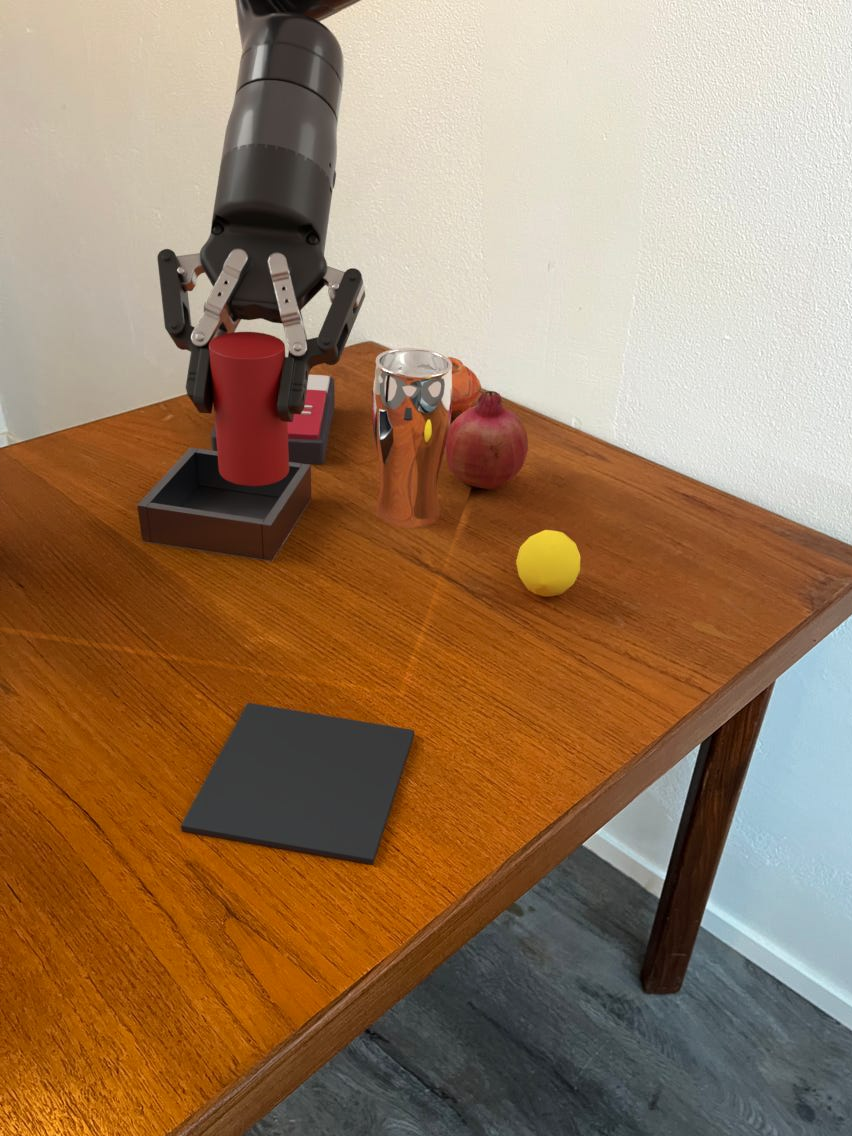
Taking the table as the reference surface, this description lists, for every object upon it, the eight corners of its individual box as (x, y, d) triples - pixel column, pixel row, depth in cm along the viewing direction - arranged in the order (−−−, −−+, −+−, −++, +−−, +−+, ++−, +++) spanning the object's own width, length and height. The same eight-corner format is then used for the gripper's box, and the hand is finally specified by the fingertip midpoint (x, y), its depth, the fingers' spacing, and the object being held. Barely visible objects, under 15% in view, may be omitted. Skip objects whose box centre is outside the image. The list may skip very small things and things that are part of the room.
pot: (494, 407, 116) (494, 356, 111) (458, 444, 112) (456, 393, 106) (436, 386, 119) (433, 336, 114) (398, 422, 114) (393, 371, 109)
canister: (208, 480, 69) (197, 352, 63) (232, 450, 72) (224, 327, 67) (277, 490, 68) (271, 362, 63) (297, 459, 72) (294, 336, 67)
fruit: (496, 514, 96) (506, 416, 90) (427, 488, 99) (432, 392, 94) (537, 484, 102) (549, 390, 96) (470, 460, 105) (477, 368, 99)
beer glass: (406, 542, 91) (413, 384, 82) (354, 513, 94) (356, 358, 86) (459, 518, 95) (471, 365, 86) (408, 490, 99) (414, 341, 90)
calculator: (209, 429, 98) (232, 364, 109) (212, 468, 101) (235, 400, 112) (323, 435, 99) (334, 370, 110) (323, 474, 101) (335, 406, 113)
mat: (181, 831, 61) (180, 825, 61) (247, 707, 71) (247, 702, 71) (373, 865, 61) (373, 859, 60) (414, 735, 70) (414, 729, 70)
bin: (142, 545, 87) (137, 505, 85) (193, 485, 96) (190, 447, 94) (272, 565, 86) (270, 525, 84) (311, 502, 95) (311, 464, 93)
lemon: (572, 616, 83) (581, 561, 80) (508, 606, 84) (514, 551, 81) (579, 572, 89) (587, 519, 86) (518, 563, 90) (525, 510, 86)
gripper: (155, 128, 65) (114, 379, 62) (377, 151, 65) (346, 402, 62) (187, 197, 72) (152, 423, 69) (386, 217, 72) (358, 444, 69)
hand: (243, 412), depth 66 cm, fingers closed on canister, 5 cm apart
